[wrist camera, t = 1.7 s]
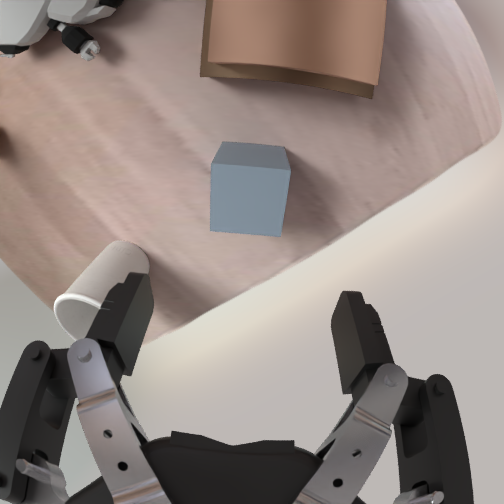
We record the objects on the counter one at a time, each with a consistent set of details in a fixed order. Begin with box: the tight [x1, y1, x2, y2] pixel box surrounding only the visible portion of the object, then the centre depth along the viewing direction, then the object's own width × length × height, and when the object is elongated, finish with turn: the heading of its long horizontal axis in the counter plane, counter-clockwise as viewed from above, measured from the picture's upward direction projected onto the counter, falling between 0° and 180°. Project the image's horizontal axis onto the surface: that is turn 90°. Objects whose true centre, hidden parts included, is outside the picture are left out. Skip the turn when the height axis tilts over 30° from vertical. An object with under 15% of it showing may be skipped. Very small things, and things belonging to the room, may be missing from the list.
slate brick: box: [210, 142, 291, 237], centre depth 21 cm, size 5×5×6 cm
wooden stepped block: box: [200, 0, 387, 99], centre depth 13 cm, size 12×12×6 cm
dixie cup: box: [54, 240, 150, 341], centre depth 25 cm, size 8×8×10 cm
